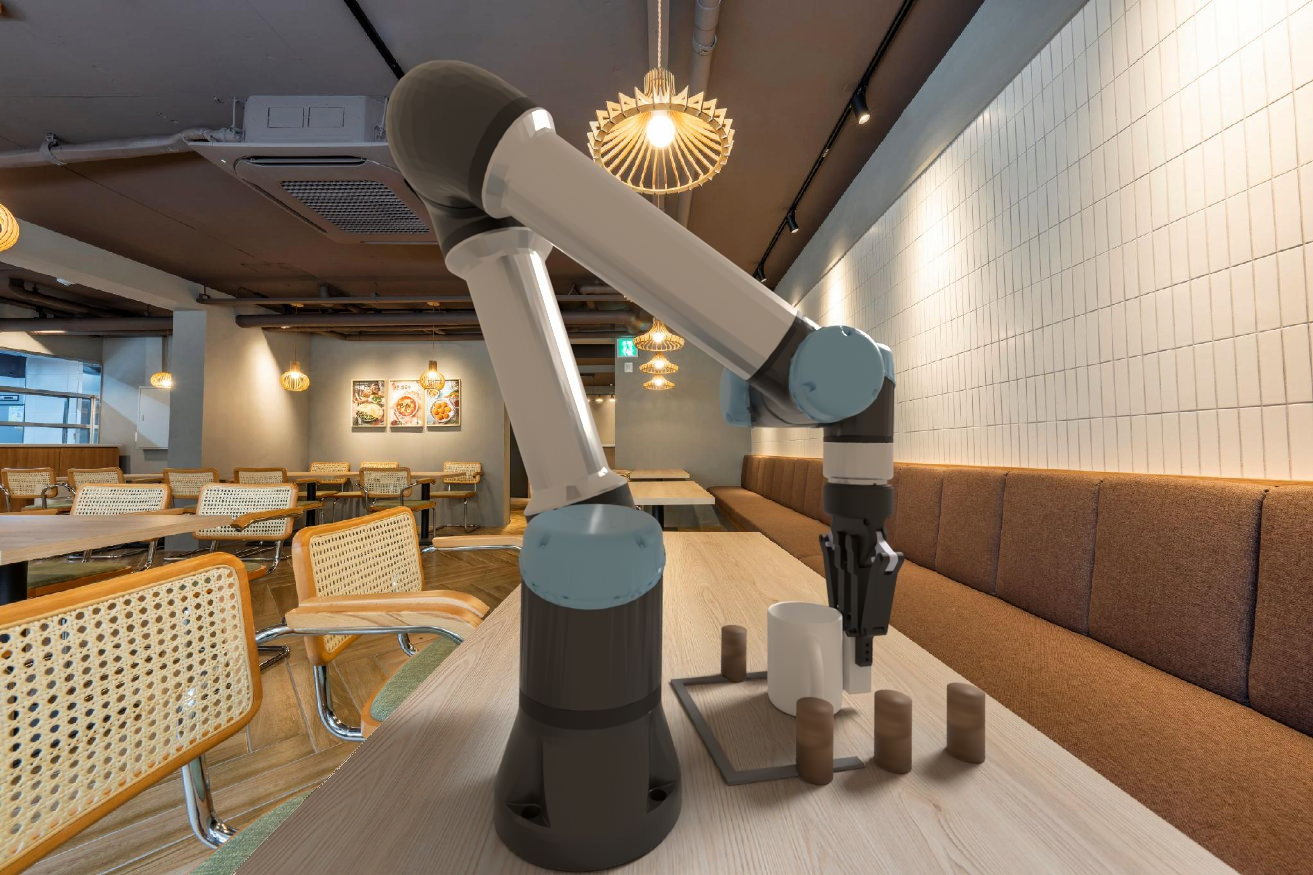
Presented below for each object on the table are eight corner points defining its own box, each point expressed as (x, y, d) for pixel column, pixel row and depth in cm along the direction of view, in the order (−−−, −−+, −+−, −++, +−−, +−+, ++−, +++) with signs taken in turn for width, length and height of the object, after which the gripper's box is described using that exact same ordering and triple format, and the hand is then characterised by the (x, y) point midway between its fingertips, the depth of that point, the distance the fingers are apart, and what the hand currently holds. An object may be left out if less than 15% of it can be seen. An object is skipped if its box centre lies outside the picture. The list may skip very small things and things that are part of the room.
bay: (728, 785, 45) (728, 781, 45) (670, 681, 65) (670, 679, 65) (864, 767, 48) (864, 763, 48) (769, 673, 67) (769, 670, 67)
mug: (860, 743, 51) (860, 638, 52) (775, 737, 52) (774, 634, 53) (833, 687, 63) (833, 602, 63) (764, 683, 64) (764, 599, 64)
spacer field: (806, 786, 45) (807, 716, 45) (717, 672, 67) (717, 625, 68) (993, 760, 49) (993, 696, 49) (850, 661, 72) (850, 617, 72)
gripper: (927, 485, 54) (926, 716, 53) (853, 477, 66) (852, 664, 66) (862, 485, 52) (861, 723, 52) (799, 477, 65) (798, 668, 64)
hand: (856, 690), depth 59 cm, fingers closed
